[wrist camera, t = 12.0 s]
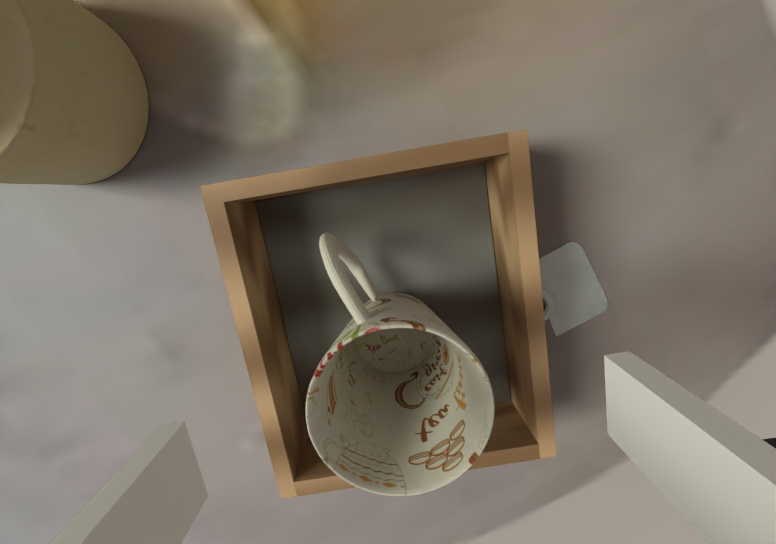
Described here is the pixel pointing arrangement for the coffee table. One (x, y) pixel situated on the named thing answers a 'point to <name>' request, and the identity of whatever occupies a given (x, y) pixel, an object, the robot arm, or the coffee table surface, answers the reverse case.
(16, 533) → the coffee table surface
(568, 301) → the mounting bracket
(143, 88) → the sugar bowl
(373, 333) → the mug
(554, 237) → the coffee table surface
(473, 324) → the open wooden crate
